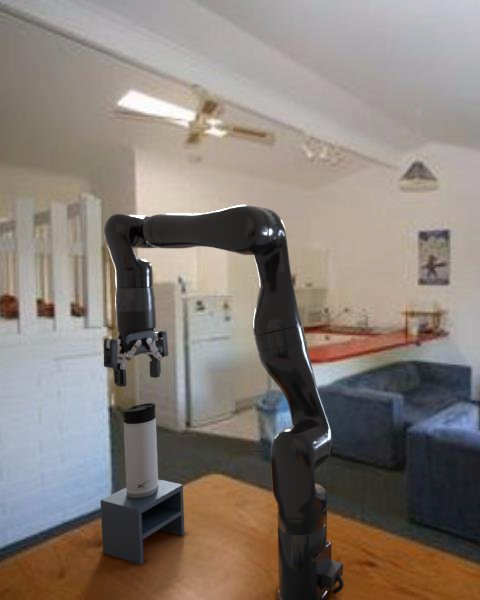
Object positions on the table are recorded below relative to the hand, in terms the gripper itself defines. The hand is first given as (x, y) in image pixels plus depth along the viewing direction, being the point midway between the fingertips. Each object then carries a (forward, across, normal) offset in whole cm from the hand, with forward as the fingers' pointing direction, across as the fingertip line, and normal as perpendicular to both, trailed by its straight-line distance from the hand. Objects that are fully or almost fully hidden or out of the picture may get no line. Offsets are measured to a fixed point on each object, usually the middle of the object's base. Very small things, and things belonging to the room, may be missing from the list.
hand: (138, 381), depth 105 cm
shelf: (+37, 0, 0) cm, 37 cm away
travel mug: (+25, 0, 0) cm, 25 cm away
